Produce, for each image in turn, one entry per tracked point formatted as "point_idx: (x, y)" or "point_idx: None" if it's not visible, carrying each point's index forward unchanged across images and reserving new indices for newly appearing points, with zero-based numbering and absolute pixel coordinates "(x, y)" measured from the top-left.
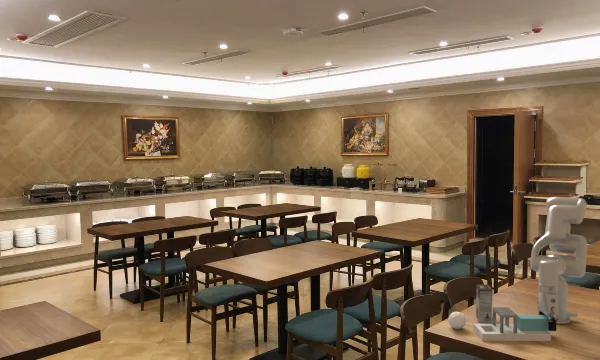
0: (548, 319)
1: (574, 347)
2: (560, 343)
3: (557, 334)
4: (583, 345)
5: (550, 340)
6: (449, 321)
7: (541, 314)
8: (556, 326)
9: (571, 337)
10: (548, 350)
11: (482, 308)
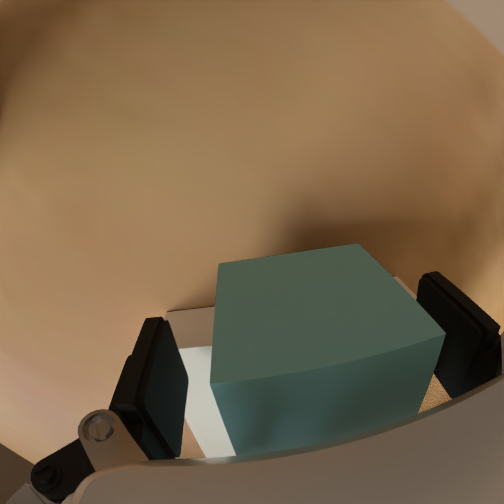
0: (413, 410)
1: (485, 149)
2: (435, 218)
3: (235, 168)
4: (452, 62)
5: (397, 281)
6: None
7: (170, 445)
8: (462, 292)
9: (300, 59)
10: (489, 315)
11: None
